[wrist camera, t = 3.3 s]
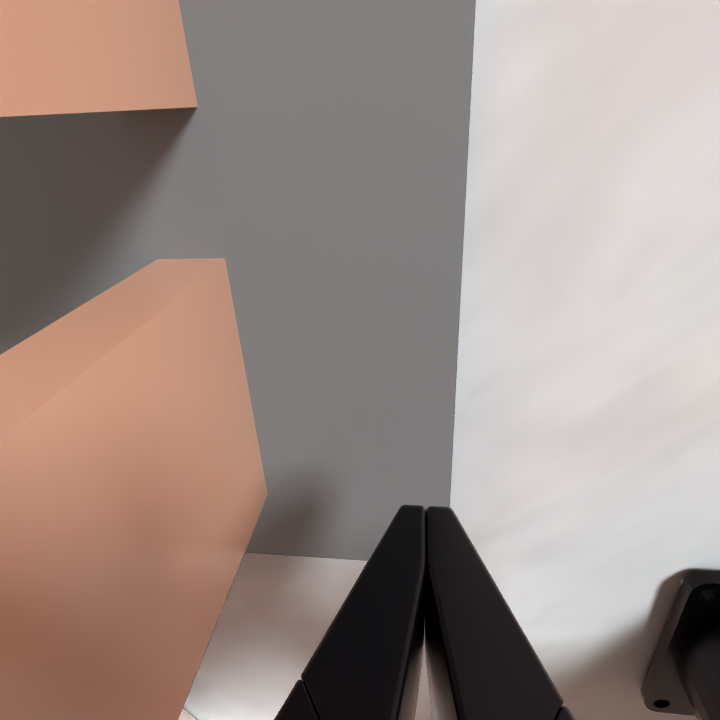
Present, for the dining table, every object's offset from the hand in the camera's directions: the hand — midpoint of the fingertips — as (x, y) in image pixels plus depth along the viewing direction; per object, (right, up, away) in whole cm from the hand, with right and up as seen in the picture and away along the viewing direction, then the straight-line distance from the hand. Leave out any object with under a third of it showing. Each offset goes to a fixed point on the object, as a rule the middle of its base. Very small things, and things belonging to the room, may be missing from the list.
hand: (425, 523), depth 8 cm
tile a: (-5, +2, +4) cm, 7 cm away
